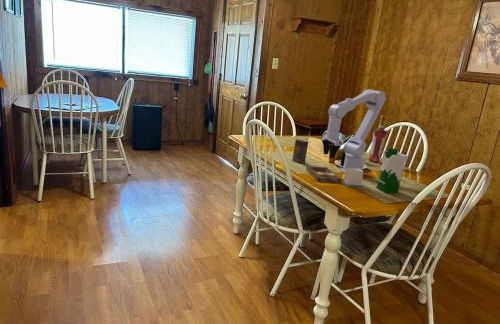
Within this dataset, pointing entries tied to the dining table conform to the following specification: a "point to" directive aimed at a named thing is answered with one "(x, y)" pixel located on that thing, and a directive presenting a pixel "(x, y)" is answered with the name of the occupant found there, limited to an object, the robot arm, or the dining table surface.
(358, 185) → the mat
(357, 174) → the cream rectangular prism
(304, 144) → the box
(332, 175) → the tan rectangular block
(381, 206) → the dining table surface
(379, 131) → the liquor
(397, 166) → the milk carton
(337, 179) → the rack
